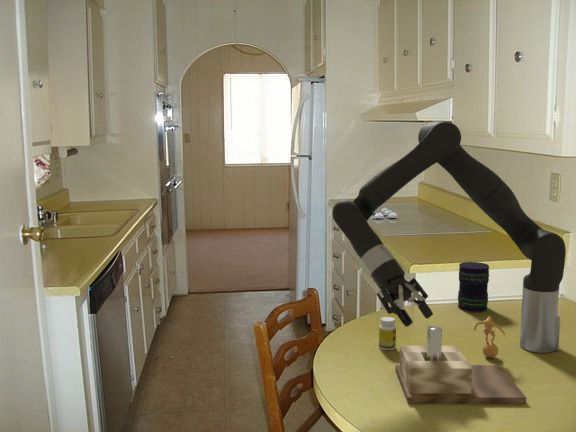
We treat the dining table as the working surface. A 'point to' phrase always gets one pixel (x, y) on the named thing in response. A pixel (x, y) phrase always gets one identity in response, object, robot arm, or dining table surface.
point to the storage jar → (473, 286)
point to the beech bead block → (435, 370)
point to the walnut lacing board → (473, 389)
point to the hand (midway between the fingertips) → (420, 320)
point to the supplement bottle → (387, 333)
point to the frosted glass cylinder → (434, 343)
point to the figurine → (491, 348)
